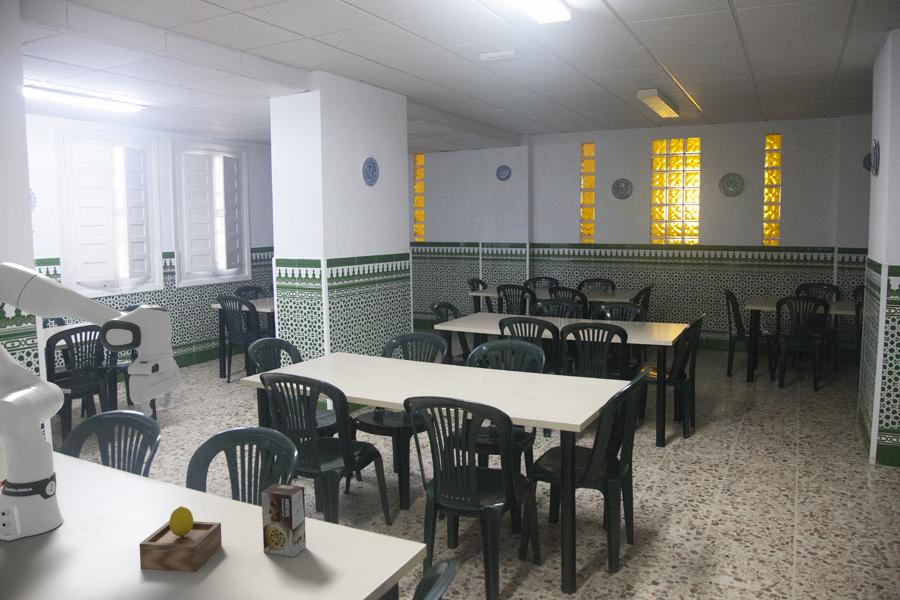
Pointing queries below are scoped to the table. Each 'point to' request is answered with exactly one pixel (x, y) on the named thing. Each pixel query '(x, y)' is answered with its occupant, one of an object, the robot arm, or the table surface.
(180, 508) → the lemon
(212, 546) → the walnut base
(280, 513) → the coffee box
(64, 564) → the table surface
